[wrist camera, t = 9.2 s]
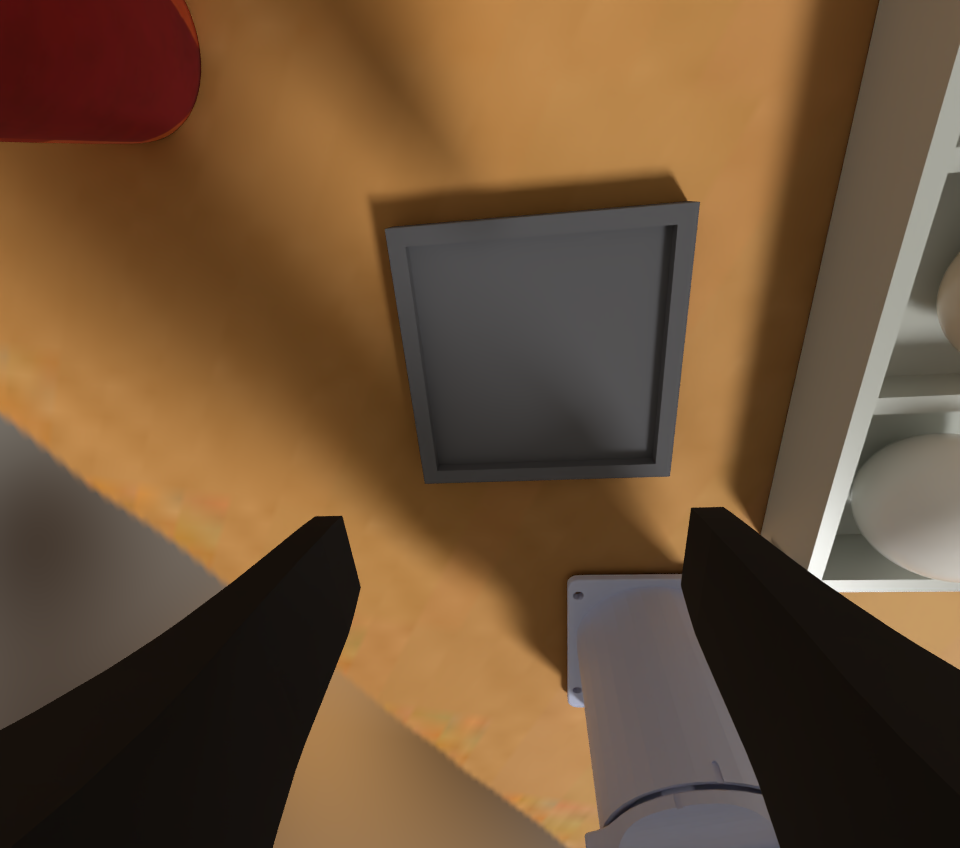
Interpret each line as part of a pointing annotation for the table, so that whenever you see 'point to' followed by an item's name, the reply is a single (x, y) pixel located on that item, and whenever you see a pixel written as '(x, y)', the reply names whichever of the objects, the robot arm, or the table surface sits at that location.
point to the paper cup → (96, 70)
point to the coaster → (546, 341)
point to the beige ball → (950, 303)
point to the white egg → (913, 504)
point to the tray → (878, 302)
